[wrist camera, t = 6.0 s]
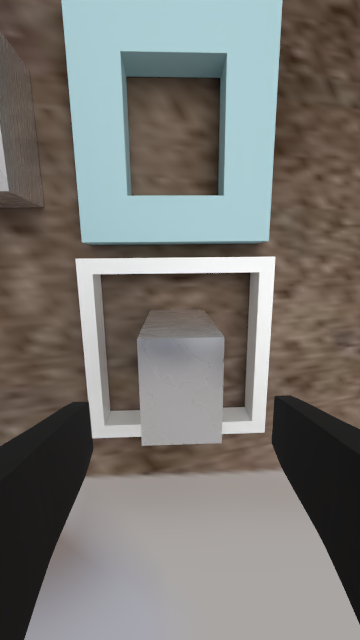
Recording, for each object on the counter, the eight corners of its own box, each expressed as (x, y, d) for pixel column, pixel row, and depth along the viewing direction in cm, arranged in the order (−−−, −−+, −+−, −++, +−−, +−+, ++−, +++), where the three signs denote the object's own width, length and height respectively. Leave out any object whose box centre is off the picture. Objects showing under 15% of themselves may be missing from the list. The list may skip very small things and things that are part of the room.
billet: (152, 377, 21) (141, 445, 13) (150, 309, 20) (136, 339, 12) (202, 376, 21) (221, 443, 13) (203, 309, 20) (224, 337, 12)
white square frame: (98, 422, 21) (91, 438, 19) (85, 259, 19) (75, 258, 17) (255, 417, 22) (264, 432, 20) (264, 257, 19) (275, 256, 17)
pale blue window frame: (91, 244, 19) (82, 242, 17) (74, 23, 16) (60, -12, 14) (258, 243, 19) (268, 240, 17) (269, 26, 16) (282, -6, 14)
